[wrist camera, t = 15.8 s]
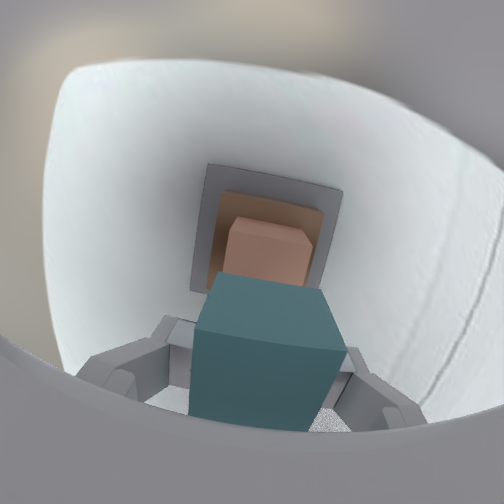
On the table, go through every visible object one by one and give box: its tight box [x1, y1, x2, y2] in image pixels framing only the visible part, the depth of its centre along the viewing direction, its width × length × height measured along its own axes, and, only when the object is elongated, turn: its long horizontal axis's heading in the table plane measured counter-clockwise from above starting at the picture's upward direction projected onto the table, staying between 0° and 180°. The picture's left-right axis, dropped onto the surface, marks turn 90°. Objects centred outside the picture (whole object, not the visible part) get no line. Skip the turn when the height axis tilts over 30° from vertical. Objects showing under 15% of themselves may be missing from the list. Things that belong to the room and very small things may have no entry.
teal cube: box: [188, 272, 348, 432], centre depth 9 cm, size 4×4×4 cm
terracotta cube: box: [222, 216, 313, 286], centre depth 19 cm, size 5×5×5 cm
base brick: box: [206, 190, 324, 290], centre depth 23 cm, size 8×8×3 cm
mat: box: [190, 164, 343, 294], centre depth 25 cm, size 12×12×1 cm
